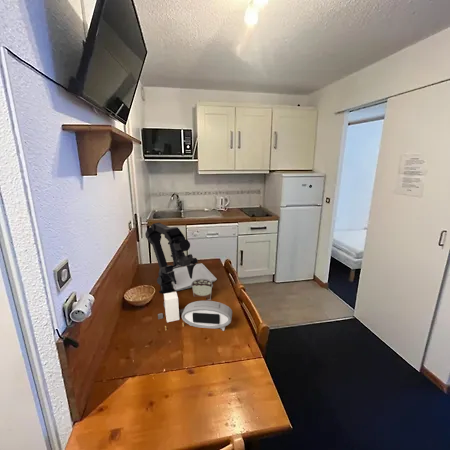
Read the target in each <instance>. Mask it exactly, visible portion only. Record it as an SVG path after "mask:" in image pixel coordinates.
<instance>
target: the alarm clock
mask: <svg viewBox="0 0 450 450" xmlns="http://www.w3.org/2000/svg"><path fill="white" fill-rule="evenodd" d="M183 309H184V311H183V313H182V315H181V319H182V322H184V323H186V324H187V325H189V326H191V327H194V328H203V329H215V330H217V329H220V331H223V332H224V331H225V329H226V327H227V326H229V325H230V324H231V323H232V317H233V310H232V308H231V307H230V306H228V305H226V304H225V303H222V302H219V301H213V300H197V301H192V302H190V303H188V304H187V305H186V306H185V307H184V308H183Z"/></svg>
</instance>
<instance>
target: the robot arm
mask: <svg viewBox="0 0 450 450" xmlns="http://www.w3.org/2000/svg"><path fill="white" fill-rule="evenodd" d="M162 235H164V239H166V240H167V241H168V243H167V244H168V245H169V249H170V253H171V254H170V257H171V258H172V261H173V262H172V264H171V265H168V263H167V259H166V256H165V253H164V250H163V248H162V243H161V240H162ZM145 238H146V240H147V242H148V243H149V244H150V245H152V249H153V252H154V255H155V258H156V261H157V265H158V267H159V270H158V276H157V279H156V282H157V284H158V285H159V286H160V290H159V291H158V293H159V294H162V295H164V294H165V293H171V292H175V289H174V288H173V286H172V282H174V283H175V284H176V279H175V274H174V271H173V269H175V268H179V267H185V266H187V269H188V273H189V276H190V278H191V279H192V274H193V268H194V266H195V265H196V264H199V260H198V259H197V257H193V254H192V253H190V254H187V255H185V252H187V251H189V249H190V248H191V242H190V241H189V240H188V239H186V237H185V235H184V233H183V232H182V231H181V230H180V228H179V227H178V226H167V225H166V224H163V223H161V222H155V223H152V224H151V226H149V227H148V228H147V229H146V231H145Z"/></svg>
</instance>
